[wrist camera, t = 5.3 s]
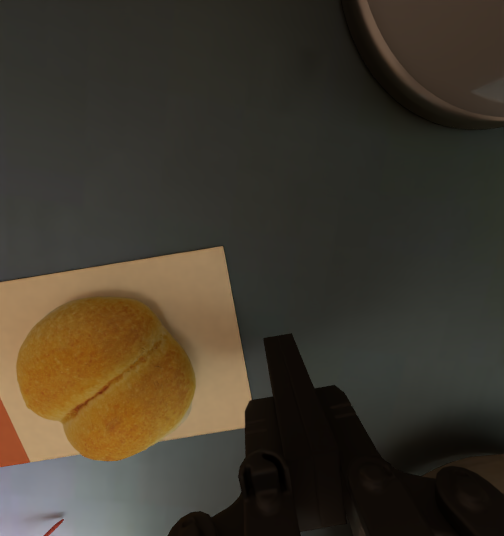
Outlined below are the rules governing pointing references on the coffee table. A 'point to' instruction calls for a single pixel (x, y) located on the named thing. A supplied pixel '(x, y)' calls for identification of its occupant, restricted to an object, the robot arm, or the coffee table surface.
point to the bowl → (480, 468)
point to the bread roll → (106, 376)
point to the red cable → (53, 528)
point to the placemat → (172, 318)
